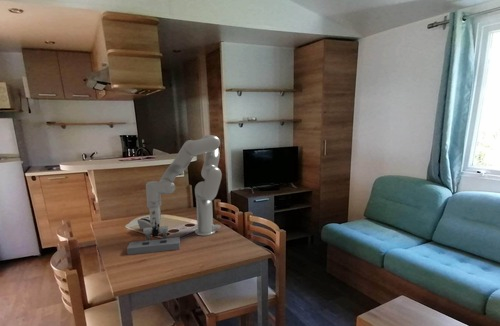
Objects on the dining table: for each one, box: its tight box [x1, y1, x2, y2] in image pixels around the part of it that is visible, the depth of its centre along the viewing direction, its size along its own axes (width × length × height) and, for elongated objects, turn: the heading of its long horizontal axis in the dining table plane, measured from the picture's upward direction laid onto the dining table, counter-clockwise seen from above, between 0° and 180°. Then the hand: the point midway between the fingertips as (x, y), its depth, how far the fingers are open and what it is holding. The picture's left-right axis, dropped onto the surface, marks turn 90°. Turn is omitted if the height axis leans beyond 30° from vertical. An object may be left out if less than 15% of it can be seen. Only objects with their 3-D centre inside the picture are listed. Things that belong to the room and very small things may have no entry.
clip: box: [142, 225, 169, 241], centre depth 156 cm, size 13×3×8 cm, turn 102°
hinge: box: [137, 217, 152, 230], centre depth 173 cm, size 17×5×10 cm, turn 54°
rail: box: [126, 236, 181, 256], centre depth 148 cm, size 26×8×4 cm, turn 103°
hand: (156, 233), depth 156 cm, fingers open, 6 cm apart
